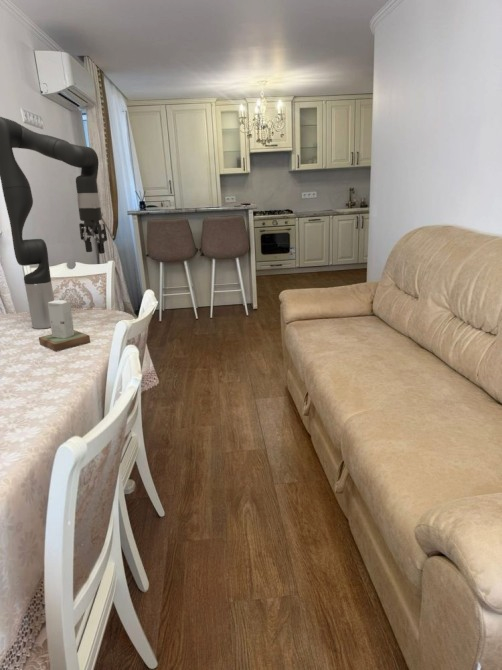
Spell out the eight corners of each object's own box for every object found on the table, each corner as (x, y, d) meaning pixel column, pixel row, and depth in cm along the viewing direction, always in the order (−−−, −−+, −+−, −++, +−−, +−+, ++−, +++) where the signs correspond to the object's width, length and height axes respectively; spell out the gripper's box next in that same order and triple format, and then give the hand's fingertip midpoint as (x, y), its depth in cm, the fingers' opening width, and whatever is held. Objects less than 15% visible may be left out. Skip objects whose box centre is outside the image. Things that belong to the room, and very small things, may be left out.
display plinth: (39, 344, 152) (38, 337, 151) (73, 335, 161) (72, 329, 160) (56, 351, 144) (55, 344, 144) (90, 342, 153) (89, 335, 152)
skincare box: (51, 337, 150) (45, 302, 147) (61, 333, 155) (55, 299, 151) (66, 338, 149) (61, 303, 145) (75, 334, 153) (70, 300, 149)
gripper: (69, 207, 160) (76, 252, 165) (90, 207, 151) (96, 255, 156) (88, 206, 166) (94, 250, 171) (109, 206, 157) (115, 252, 161)
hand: (95, 252), depth 163 cm, fingers open, 8 cm apart
